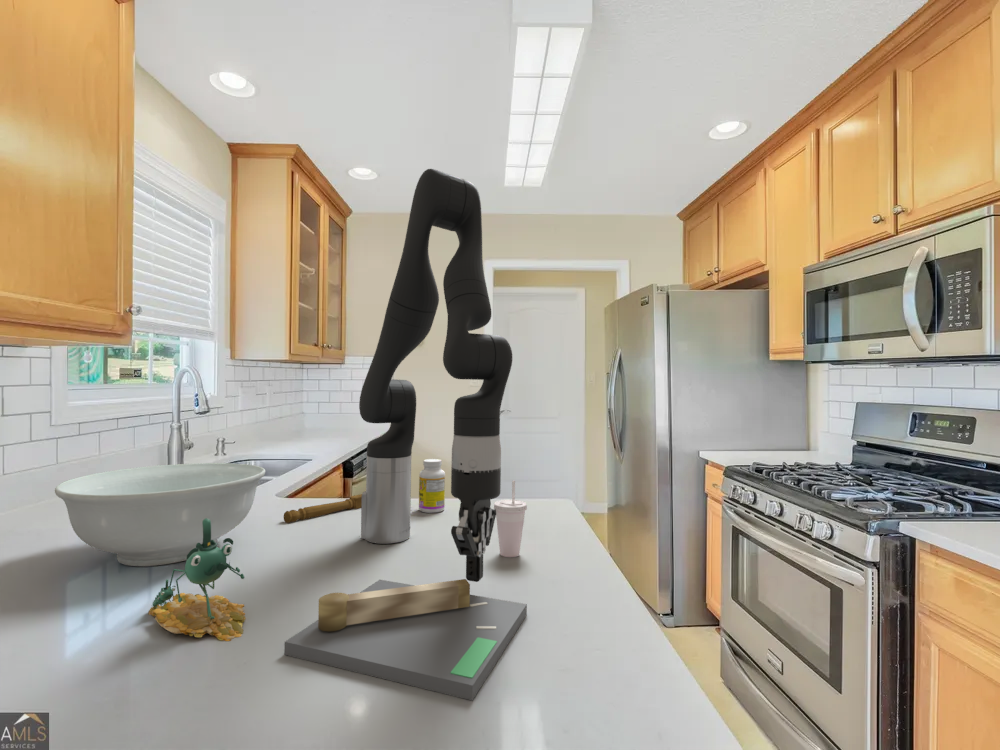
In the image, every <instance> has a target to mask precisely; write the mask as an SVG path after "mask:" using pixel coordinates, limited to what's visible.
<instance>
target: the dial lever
mask: <svg viewBox="0 0 1000 750" xmlns="http://www.w3.org/2000/svg"><path fill="white" fill-rule="evenodd" d="M470 595H471V584H470V583H469V581H468V580H467V579H466V578H463V579H455V580H448V581H441V582H439V581H438V582H432V583H426V584H416V585H415V586H408V587H400V588H393V589H385V590H377V591H370V592H362V593H360V592H357V593H348V594H347V593H345V592H331V593H326V594H324V595H322V596H320V597H319V599H318V611H317V612H318V619H317V620H318V628H319V629H320V630H322V631H337V630H340V629H343V628H344V627H346V626H347V625H352V624H358V623H365V622H371V621H378V620H385V619H391V618H398V617H404V616H411V615H417V614H424V613H431V612H437V611H444V610H450V609H457V608H463V607H470Z"/></svg>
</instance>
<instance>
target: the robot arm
mask: <svg viewBox="0 0 1000 750" xmlns="http://www.w3.org/2000/svg"><path fill="white" fill-rule="evenodd" d="M416 183H417V184H416V186H415V189H414V193H413V196H412V197H413V198H412V202H411V207H410V211H409V218H408V222H407V229H406V233H405V238H404V243H403V249H402V253H401V258H400V261H399V264H398V269H397V270H396V271H397V272H396V275H395V278H394V282H393V285H392V289H391V292H390V295H389V299H388V301H387V302H388V303H387V306H386V310H385V314H384V318H383V322H382V323H383V324H382V327H381V331H380V335H379V339H378V342H377V345H376V348H375V352H374V353H373V354H374V355H373V358H372V360H371V363H370V364H369V365H370V366H369V368H368V371H367V374H366V377H365V379H364V382H363V385H362V387H361V391H360V396H359V404H358V407H359V408H358V409H359V414H360V417H361V419H363V421H364V422H366V423H369V424H390V425H389V429H388V430H387V431H386V432H385V433H384V434H381V435H380V436H378V437H376V438H374V439H372V440H370V441H368V443H367V446H366V477H365V478H366V480H365V481H366V485H365V490H364V491H363V492H362V493H361V494H362V508H360V509H361V512H360V513H361V515H360V516H361V517H360V518H361V520H360V539H362V540H365V541H367V542H369V543H373V544H381V545H382V544H383V545H385V544H396V543H401V542H404V541H407V540H408V539H409V538H410V536H411V508H412V507H411V505H412V504H411V503H412V502H411V500H412V499H411V498H412V497H411V496H412V453H413V452H412V450H413V446H414V442H415V441H414V440H415V429H416V414H417V392H416V390H415V386H414V385H413V383H412V382H411V381H409V380H407V379H395V378H394V379H393V376H394V375H395V372H396V370H397V369H398V367H399V366H400V364H402V362H403V361H404V360H405V359H406V358H407V357H408V356H409V355H410V354H411V353H412V352H413V351H414V350H416V348H417V347H418V346H419V345H420V344H421V343H422V342H423V341H424V340H425V339H426V338H427V337H428V335H429V333H430V331H431V329H432V326H433V324H434V321H435V316H436V314H437V310H438V306H439V301H440V297H439V291H438V290H439V289H438V286H437V285H438V284H437V282H436V279H435V275H434V272H433V269H432V264H431V260H430V255H429V247H430V245H429V242H430V236H431V231H432V228H433V227H436V228H440V229H441V230H442V229H443V230H446V231H450V232H454V233H456V236H457V239H458V247H457V249H456V251H455V253H454V255H453V257H452V258H451V259H450V261H449V263H448V265H447V266H446V268H445V271H444V275H443V284H442V285H443V294H444V300H445V307H446V312H447V313H446V314H447V323H446V324H447V325H446V336H445V337H446V338H445V342H444V347H443V355H442V361H443V363H442V364H443V366H444V369H445V370H446V372H447V373H448V374H449V376H451V378H452V377H453V379H457V380H470V381H471V380H473V381H474V380H475V381H476V380H479V381H481V380H482V381H483V382H482V384H481V387H480V388H479V390H478V391H477V392H475V393H471V394H466V395H463V396H459V397H458V398H457V399H456V400H455V402H454V407H453V438H452V445H451V446H452V447H451V470H450V472H451V473H450V475H451V476H450V478H451V480H450V482H451V483H450V484H451V485H450V494H451V496H452V497H454V498H455V499H458V500H459V502H460V504H459V510H458V522H459V523H458V525H457V526H456V525H453V526H451V529H450V533H451V537H452V539H453V541H454V544H455V546H456V550H457V551H458V555H460V556H466V557H465V558H466V559H465V560H466V561H465V579H466V580H467V581H468V582H476V583H477V582H480V581H481V579H482V578H483V577H484V554H485V553H486V551H487V550H486V549H487V548H486V547H487V546H490V543H491V537H492V533H493V529H494V524H495V521H496V509H494V508H492V507H491V505H492V503H491V502H492V501H491V500H493V499H496V498H498V497H499V496H500V494H501V485H502V484H501V483H502V482H501V481H502V479H501V477H502V473H501V471H502V466H501V465H502V447H501V440H500V439H501V437H500V435H501V434H500V433H501V431H500V430H501V428H500V427H501V421H500V420H501V406H502V403H503V402H502V401H503V398H504V395H505V390H506V387H507V383H508V379H509V376H510V373H511V369H512V365H513V350H512V347H511V344H510V343H509V341H508V340H507V339H506V338H505V337H503V336H502V335H498V334H487V333H486V334H485V333H474V332H473V333H471V332H470V331H475V330H478V329H481V328H483V327H486V326H487V325H488V323H489V322H490V321H491V319H492V307H491V302H490V298H489V293H488V288H487V282H486V277H485V271H484V263H483V262H484V261H483V223H482V221H483V220H482V203H481V197H480V193H479V190H478V188H477V186H476V185H475V184H474V183H472V182H470V181H469V180H467V179H464V178H461V177H459V176H455V175H453V174H450V173H446V172H443V171H440V170H438V169H434V168H428V169H426V170H424V171H423V172H422V174H421V175H420V177H419V178H418V181H417V182H416Z"/></svg>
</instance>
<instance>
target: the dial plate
mask: <svg viewBox="0 0 1000 750" xmlns="http://www.w3.org/2000/svg"><path fill="white" fill-rule="evenodd" d="M408 586H416V585H414V584H410V583H409V584H408V583H403V582H398V581H391V580H385V579H378V580H377V581H375V582H374V583H372V584H371V585H369V586H367V587H366V588H364V589H363V590H361V591H360V592H359V593H362V592H370V591H377V590H385V589H393V588H400V587H408ZM527 604H528V603H523V602H522V603H521V602H516V601H511V600H505V599H504V600H503V599H499V598H492V597H486V596H480V595H474V594H470V607H463V608H457V609H450V610H444V611H437V612H431V613H424V614H417V615H411V616H404V617H398V618H391V619H385V620H378V621H371V622H365V623H358V624H352V625H347V626H346V627H344V628H343V629H340V630H337V631H322V630H320V629H319V628H318V619H317V620H315V621H314V622H312V623H311V624H309V625H308V626H307V627H306V626H305V628H303V629H302V630H301V631H299V632H297V633H296V634H294V635H293V636H291V637H289V638H288V639H286V640H285V641H284V649H283V651H284V653H283V654H284V655H285V656H289V657H293V658H297V659H301V660H305V661H308V662H309V661H310V662H314V663H317V664H321V665H326V666H330V667H334V668H336V669H337V668H339V669H342V670H346V671H350V672H354V673H359V674H362V675H365V676H366V675H367V676H371V677H374V678H378V679H384V680H387V681H391V682H394V683H400V684H404V685H408V686H412V687H415V688H419V689H424V690H428V691H432V692H436V693H440V694H444V695H448V696H452V697H457V698H461V699H465V700H469V701H474V699H475V697H476V696H477V694H478V693H479V691H480V689H481V687H482V686H483V684H484V683H485V681H486V679H488V677H489V675H490V673H491V672H492V670H493V669H494V667H495V665H496V663H497V662H498V661H499V660H500V658H501V656H502V655H503V653H504V652H505V650H506V649H507V646H508V645H509V643H511V640H512V639H513V637H514V636H515V635H516V633H517V631H518V630H519V628H520V626H521V625H522V623H523V622H524V620H525V618H526V617H527V615H528V613H527V611H528V610H527V609H528V605H527Z"/></svg>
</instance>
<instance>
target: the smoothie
mask: <svg viewBox="0 0 1000 750" xmlns="http://www.w3.org/2000/svg"><path fill="white" fill-rule="evenodd" d="M511 482H512V483H511V499H500V500H496V501H495V502H494V503H493V504H494V505H493V506H494V507H493V509H496V517H495V520H496V527H497V536H498V537H497V538H498V546H499V547H498V548H499V555H500V556H501V557H504V558H516V557H519V556H520V554H521V553H520V551H521V544H522V537H523V529H524V523H525V514H526V511H527V510H528V505H527V502H525V501H522V500H519V499H516V480H512V481H511Z"/></svg>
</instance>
